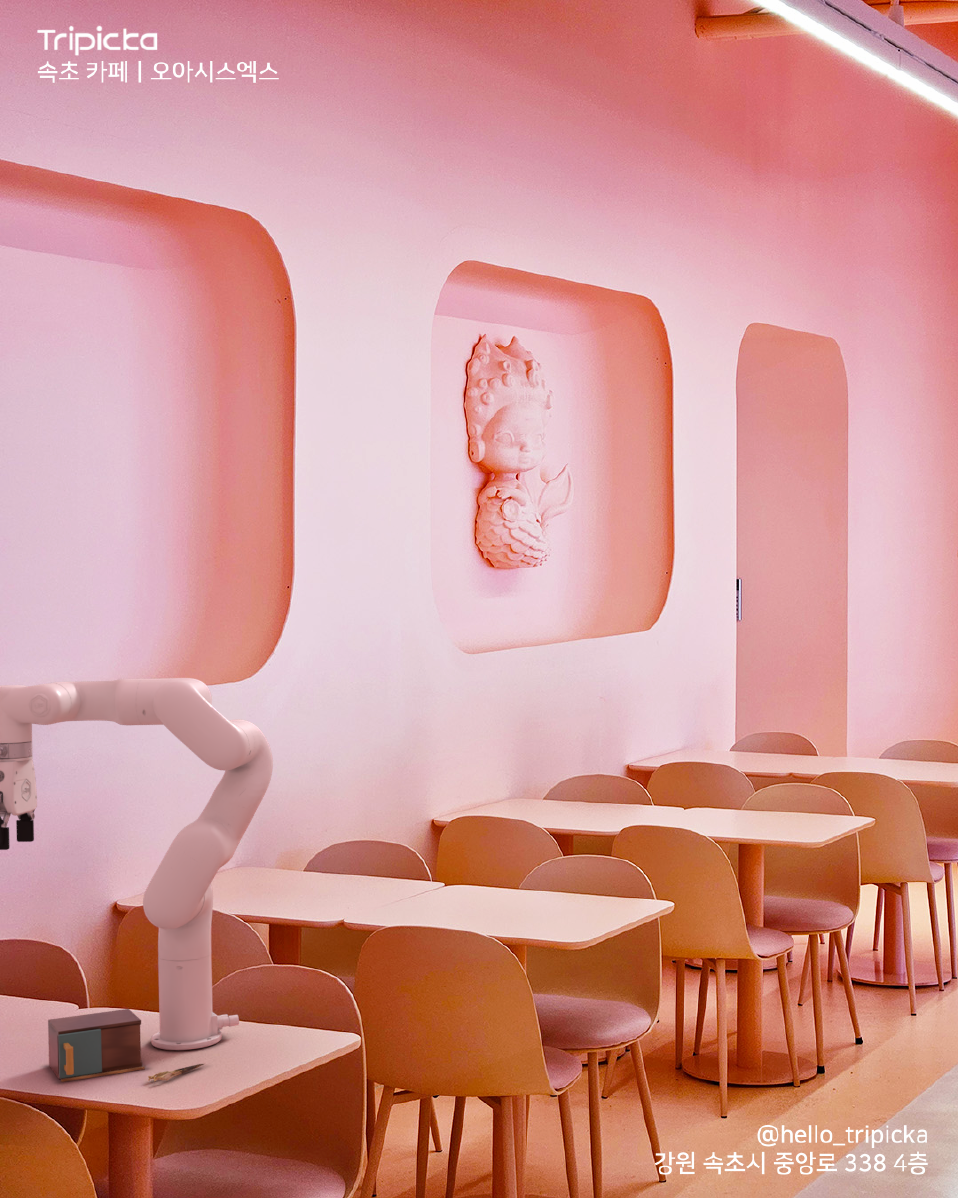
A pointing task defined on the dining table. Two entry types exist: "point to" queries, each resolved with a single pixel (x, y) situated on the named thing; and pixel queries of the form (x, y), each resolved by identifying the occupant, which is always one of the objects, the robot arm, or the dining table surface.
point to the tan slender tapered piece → (172, 1073)
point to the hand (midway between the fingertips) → (13, 845)
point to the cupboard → (102, 1040)
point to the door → (80, 1053)
